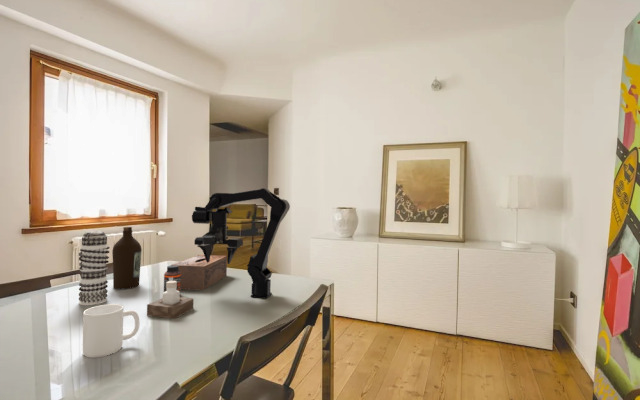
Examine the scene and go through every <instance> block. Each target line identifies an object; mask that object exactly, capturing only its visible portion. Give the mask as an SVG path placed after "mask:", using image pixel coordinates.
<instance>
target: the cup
mask: <svg viewBox="0 0 640 400" xmlns="http://www.w3.org/2000/svg"><path fill="white" fill-rule="evenodd" d="M82 314H83V315H82V317H83V318H82V319H83V320H82V354H83V356H85V357H87V358H89V359H90V358H91V359H94V358H95V359H96V358H103V357H107V355H108V356H110V354H111V355H113V354H115V353H117V352H118V350H119V351H120V350H121V349H122V347H123V342H124V341H125V340H130V339H131V338H133V337H134V336H136V335H137V333H138V332H139V330H140V317H139V314H138V313H137V311H135V310H124V306H123V305H122V304H116V303H115V304H114V303H111V304H109V303H107V304H101V305H100V304H99V305H95V306H93V307H89V308H87V309H85V310H84V311H83V313H82ZM128 316H132V317H133V319H134V328H133V330H132V331H131V332H128V333H127V334H124V318H126V317H128ZM112 353H113V354H112Z"/></svg>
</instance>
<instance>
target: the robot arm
mask: <svg viewBox="0 0 640 400" xmlns="http://www.w3.org/2000/svg"><path fill="white" fill-rule="evenodd" d="M209 199H210V200H209V201H208V202H207V204H206V205H205V206H204V207H202V206H195V207H194V210H193V212H192V215H191V220H192V223H193V224H198V225H199V224H202V225H204V224H205V225H207V224H208V225H209V224H210V223H211V226H209V230H208V232H206V233H204V234H203V235H201V236H197V237H195V239H194V245H195V246H196V245H197V248H199V249H201V250H202V253H203V255H205V258H206V261H207V263H208V262H209V261H210V255H211V254H212V253H211V251H212V246H214V245H227V247H226V251H227V265H230V264H231V262H232V260H233V258H234V256H235V254H236V251H237V249H238V248H241V247H242V246H244V240H243V238H238V237H236V238H234V237H233V238H229V236H227V230H228V229H229V226H228V224H227V222H228V221H227V220H228V219H227V218H228V217H227V216H228V214H232V213H233V211H232V210H231V209H230V208H229V206H231V205H234V204H236V203H242V202H248V201H255V200H262V201H264V202H265V203H266V204H267V205H268V206H269V207H270V212H269V214H270V215H269V221H268V224H267V226H266V229H265V232H264V234H263V237H262V241H261V242H260V245H259V248H258V251H257V252H256V253H255V254H253V255H251V256H250V258H249V261H248V264H247V265H246V267H247V269H246V270H247V273H248V275H249V276H250V278H251V281H252V283H251V295H250V298H260V299H267V298H269V297H270V296H271V295H273V293H272V292H271V283H272V282H271V277H272V274H273V273H272V271H271V270H270V269H269V268H268V262H269V253H270V250H271V248H272V246H273V243H274V240H275V237H276V235H277V233H278V230H279V227H280V224H281V222H282V221H283V220H284V218H285V217H286V215H287V214H288V212H289V210H290V209H291V208H290V207H291V206H290V202H289V201H288V200H287V199H284V198H280V197H279V196H277V194H274V193H273V192H271V191H270V190H269V189H268V188H259V189H253V190H246V191H241V192H234V193H233V192H231V193H228V192H227V193H226V192H214V193H212V194H211V196H210V198H209Z"/></svg>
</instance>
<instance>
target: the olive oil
mask: <svg viewBox="0 0 640 400" xmlns="http://www.w3.org/2000/svg"><path fill="white" fill-rule="evenodd" d="M122 229H123V230H122V237H121V238H119V239H118V241H116V242H115V243H114V245H113V247H112V272H113V273H112V280H113V284H112V285H113V286H112V287H113V289H116V290H129V289H134V288H136V287H138V286H139V285H140V278H141V277H140V276H141V265H142V264H141V262H142V245H141V243H140V242H139V241H138V240H137V239H136V238H135V237H133V227H132V226H124V227H123V228H122Z"/></svg>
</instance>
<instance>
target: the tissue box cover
mask: <svg viewBox="0 0 640 400" xmlns="http://www.w3.org/2000/svg"><path fill="white" fill-rule="evenodd" d="M227 258H228V255H212V254H210V261H209V262H208V263H207V261H206V258H205V255H204V254H197V255H194V256H192V257H189V258H186V259H183V260H181V261H178V262H175V263H173V264H171V265H177V266H178V270H179V271H180V272H181V284H180V290H195V291H196V290H197V291H198V290H199V291H200V290H201V291H204V290H206V289H208V288H209V287H211V286H212V285H214V284H215V283H217V282H219V281H220V280H222V279H224V278H225V277H227V270H228V266H227V265H228V262H227Z"/></svg>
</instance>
